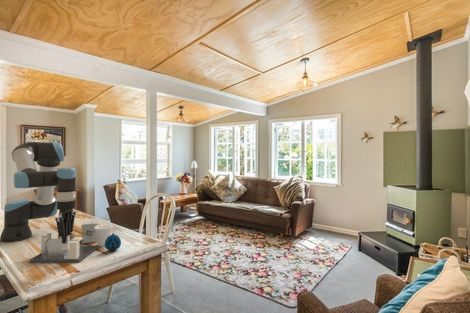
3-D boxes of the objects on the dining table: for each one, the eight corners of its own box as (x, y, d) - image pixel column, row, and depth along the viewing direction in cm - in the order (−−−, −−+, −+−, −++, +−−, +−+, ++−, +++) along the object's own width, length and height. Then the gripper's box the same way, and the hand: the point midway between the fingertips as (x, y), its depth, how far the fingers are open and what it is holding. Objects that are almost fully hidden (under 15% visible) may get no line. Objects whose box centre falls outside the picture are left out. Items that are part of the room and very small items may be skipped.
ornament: (104, 253, 140) (104, 235, 140) (104, 250, 144) (105, 232, 144) (120, 251, 143) (121, 233, 143) (120, 248, 148) (121, 231, 147)
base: (29, 262, 126) (30, 240, 126) (53, 248, 144) (53, 229, 144) (80, 262, 128) (80, 240, 128) (96, 248, 146) (97, 229, 146)
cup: (98, 241, 157) (98, 224, 157) (115, 241, 158) (115, 224, 157) (90, 248, 147) (91, 229, 147) (108, 247, 148) (108, 229, 147)
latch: (67, 259, 128) (68, 241, 128) (74, 253, 134) (75, 237, 134) (76, 259, 128) (76, 241, 128) (82, 253, 134) (83, 237, 134)
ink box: (83, 239, 161) (83, 220, 160) (98, 237, 164) (98, 219, 164) (81, 243, 153) (81, 224, 153) (97, 242, 156) (97, 223, 156)
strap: (45, 241, 134) (45, 240, 134) (47, 240, 136) (47, 238, 136) (80, 240, 136) (80, 239, 136) (82, 239, 138) (82, 237, 138)
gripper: (66, 202, 116) (65, 254, 116) (81, 197, 129) (81, 244, 129) (49, 202, 115) (48, 254, 115) (66, 197, 128) (65, 244, 128)
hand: (65, 249), depth 122 cm, fingers closed
